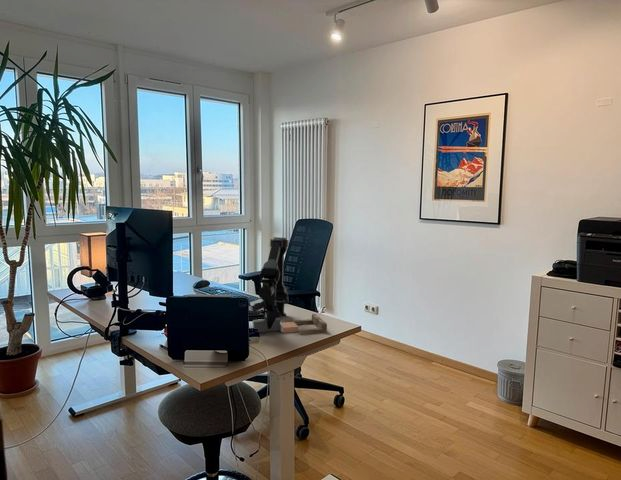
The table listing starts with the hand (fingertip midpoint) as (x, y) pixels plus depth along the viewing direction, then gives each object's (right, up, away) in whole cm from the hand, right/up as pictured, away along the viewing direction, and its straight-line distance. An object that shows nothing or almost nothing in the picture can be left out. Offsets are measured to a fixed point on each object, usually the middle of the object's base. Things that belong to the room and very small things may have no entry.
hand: (268, 327), depth 195 cm
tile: (+9, -2, +3) cm, 10 cm away
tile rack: (+17, -1, +6) cm, 18 cm away
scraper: (-1, -1, 0) cm, 2 cm away
